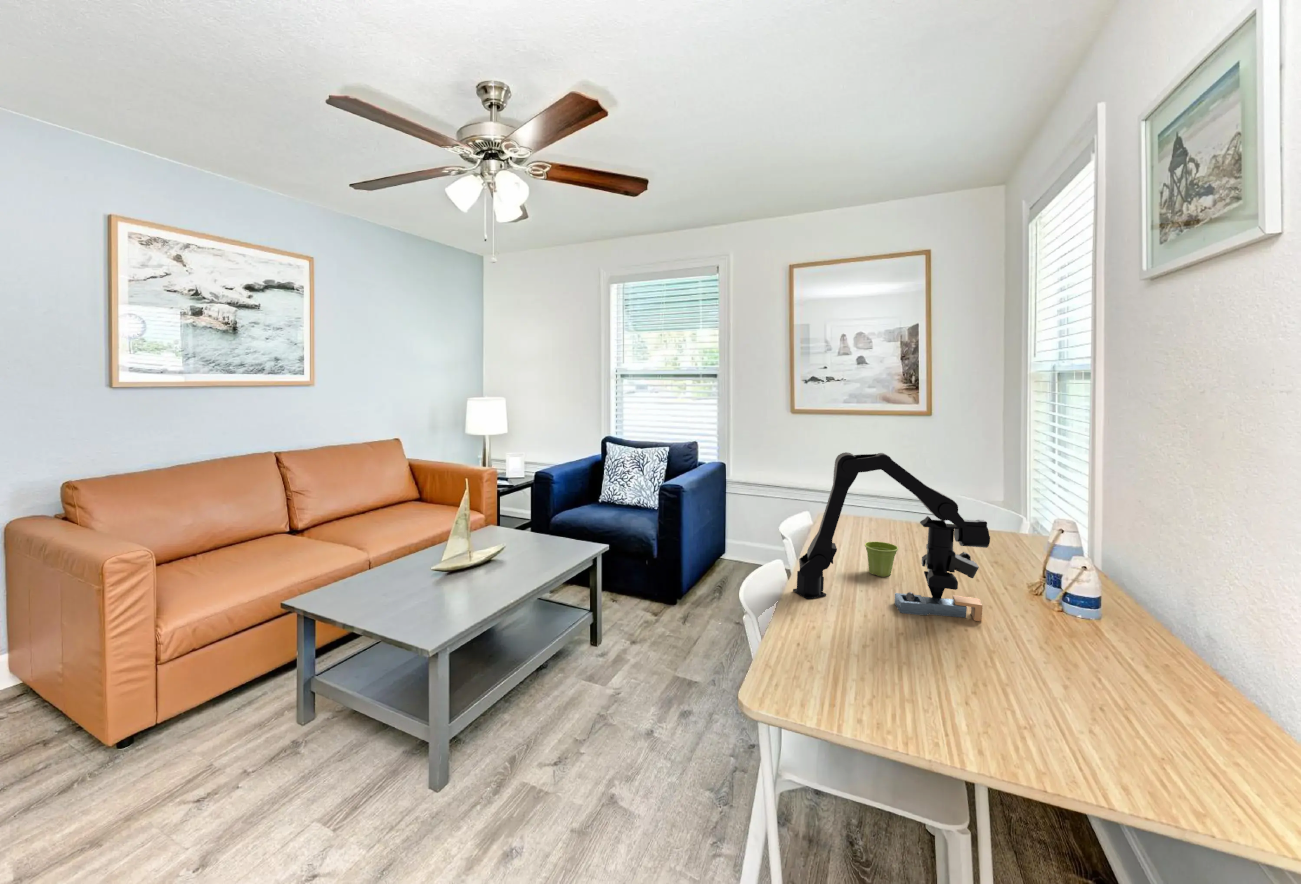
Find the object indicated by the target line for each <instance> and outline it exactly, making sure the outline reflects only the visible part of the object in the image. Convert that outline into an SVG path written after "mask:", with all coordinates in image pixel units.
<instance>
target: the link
mask: <svg viewBox="0 0 1301 884" xmlns="http://www.w3.org/2000/svg"><path fill="white" fill-rule="evenodd" d="M906 594H907V593H903V592H902V593H901V592H895V593H894V605H895V607H896V608H897V610H898V612H899V614H905V615H906V614H908V615H916V616H917V615H919V616H928V615H933V616H942V617H953V618H955V617H956V618H962V619H963V618H965V619H966V618H967V607H968V606H961V605H955V603H954V600H953V598H942V597H941V598H933V597H932V596H922V594H914V596H915V599H914V602H911V601H906Z"/></svg>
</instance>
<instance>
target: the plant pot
mask: <svg viewBox="0 0 1301 884" xmlns="http://www.w3.org/2000/svg"><path fill="white" fill-rule="evenodd" d="M864 547H865V548H866V554H867V564H868V572H869V573H870V574H871V575H875V576H877V577H884V578H885V577H889V576H890V575H892V569H893V566H894V561H895V557H896V554H897V551H899V547H898V545H896V544H893V543H889V542H883V541H867V542H865V543H864Z"/></svg>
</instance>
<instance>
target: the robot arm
mask: <svg viewBox="0 0 1301 884" xmlns="http://www.w3.org/2000/svg"><path fill="white" fill-rule="evenodd" d="M833 468H834V469H833V477H832V478H833V479H832V481H833V482H832V487H831V490H830V493H829V496H828V499H827V503H826V506H825V509H824V511H823V516H822V519H821V522H820V524H819V525H820V526H819V528H818V530H817V533H816V535H815V536H814V537H813V539H812V541H810V542H811V543H810V544H809V547H807V550H806V553H805V554H804V555H802V556H801V557H800V558H799V559H798V561H799V562H798V563H799V570H797V573H796V587H795V588H793V589H792V592H794V593H796V594H797V595H799V596H801V597H803V598H805V599H807V600H811V599H817V598H823V597H826V596H827V593H825V592H824V583H825V581H824V580H825V579H824V571H825V570H827V569H828V568H829V567H830V565H831V564H832V565H833V564H834V557H835V556H836V553H837V551H838V548H837V545H836V543H834V542H833V540H834V536H835V531H836V529H837V526H838V524H839V523H838V522H839V520H840V517H841V512H842V510H843V507H844V504H845V501H846V500H845V499H846V498H847V494H848V491H849V489H850V487H851V486H852V485H853V484H854V482H855V480H856V478H857V476H858V474H859V473H866V472H867V473H868V472H874V471H879V470H881V471H882V472H884V473H885V474H886V475H888V476H889V477H891V478H892V479H893V480H894V481H896V483H898V484H900V485H901V486H903V488H905V489H906V490H908V491H909V492H910V493H912V494H913V495H914V496H915V497H917V499H918V500H919V501H920V503H921V504H922V505H923V506H924V507H925V508H926V509H927V510H928V511H929V512H930V513H931V514H932V515H933V516H935V517H936V518H937V519H931V517H929V516H928V515H927V516H926V517H925V518H923V519H922V520H920V521H919V524H920V525H921V526H922V527H923V528H928V531H927V543H926V546H925V547H926V553H925V554H924V555H923V556H922V557H921V566H922V567H926V569H927V571H926V570H925V571H923V575H924V577H925V580H926V582H927V586H928V589H929V592H930V594H931V597H933V598H942V597H943V594H944V591H945V589H946V590H947V589H949V590H955V591H956V590H958V586H959V581H958V579H957V577H956V576H955V574H953V573H955V571H956V572H958V573H960V574H963V575H965V576H967V578H971V579H974V578H975V576H976V574H977V572H978V571H979V569H980V567H979V565H978V564H977V562H976V561H974V560H972V559H971V558H972V557H971V555H970V553H968V552H964V551H962V552H961V553H957V554H956V552H955V551H954V541H955V542H956V543H958V544H959V546H961V547H970V548H971V547H972V548H985V549H986V548H988V547H989V546H990V543H991V536H990V532H989V529H988V522H987V521H986V520H984V519H976V520H974V519H964V517H962V515H960V513H959V505H958V503H957V502H955V500H954V499H952V498H951V497H949V496H947V495H945V494H943V493H941V492H940V491H938V490H937V489H936V490H935V489H934V488H932V487H930V486H929V485H926V484H924V483H923V482H922V481H921V480H919V479H918V478H917V477H915V476H914V475H913V474H911V473H910V472H909V471H907V470H906V469H904V468H903V466H901V465H900V464H899V463H897V462H896V461H894V460H893V459H892V458H891V457H890V456H889V455H888V454H886V453H883V452H879V453H873V454H872V453H870V454H868V453H866V454H862V453H861V454H853V453H852V452H842V453H839V454H838V455H837V456H836V458H835V460H834V467H833ZM946 521H949V522H951V523H946Z"/></svg>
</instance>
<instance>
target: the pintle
mask: <svg viewBox="0 0 1301 884" xmlns="http://www.w3.org/2000/svg"><path fill="white" fill-rule="evenodd" d="M905 594H906V601H911V602H914V599H915V596H914V595H915V594H914V593H913V592H911V591H908V592H907V593H905Z"/></svg>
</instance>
